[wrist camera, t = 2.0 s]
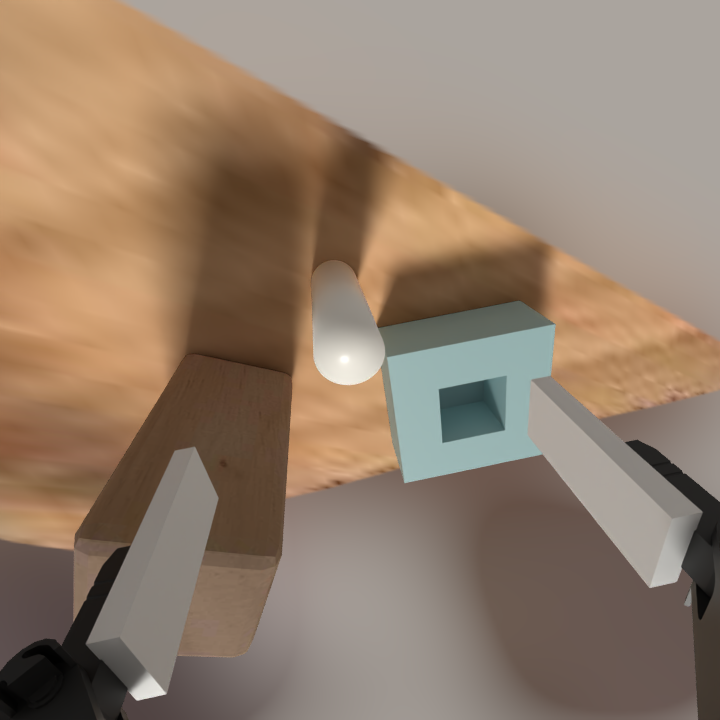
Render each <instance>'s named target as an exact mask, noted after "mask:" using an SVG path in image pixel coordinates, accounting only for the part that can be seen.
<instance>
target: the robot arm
mask: <svg viewBox="0 0 720 720" xmlns="http://www.w3.org/2000/svg"><path fill="white" fill-rule="evenodd" d="M527 435H528V436H529V438H530V439H531V440H532V441H533V443H534V444H535V445H536V446H537V448H538V449H539V450H540V451H541V453H542V454H543V455H544V456H545V457H546V459H547V460H548V461H549V463H550V464H551V465H552V466H553V468H554V469H555V470H556V471H557V473H558V474H559V475H560V476H561V478H562V479H563V480H564V481H565V483H566V484H567V485H568V486H569V488H570V489H571V490H572V491H573V493H574V494H575V495H576V496H577V498H578V499H579V500H580V501H581V502H582V504H583V505H584V506H585V507H586V509H587V510H588V511H589V513H590V514H591V515H592V516H593V518H594V519H595V520H596V521H597V523H598V524H599V525H600V526H601V528H602V529H603V530H604V531H605V533H606V534H607V535H608V536H609V538H610V539H611V540H612V541H613V543H614V544H615V545H616V546H617V548H618V549H619V550H620V551H621V553H622V554H623V555H624V556H625V558H626V559H627V560H628V561H629V563H630V564H631V565H632V566H633V568H634V569H635V570H636V571H637V573H638V574H639V575H640V576H641V578H642V579H643V580H644V581H645V582H646V584H647V585H648V586H649V588H651V587H655V586H660V585H664V584H668V583H674V582H677V579H678V577H679V574H680V571H681V569H682V568H683V569H684V570H685V572H686V573H687V574H688V575H689V576H690V577H691V578H692V579H693V582H692V584H691V587H690V589H689V592H688V594H687V597H686V600H685V603H684V605H686V606H690V604H691V602H692V616H693V634H694V652H695V670H696V689H697V707H698V720H720V502H719V501H718V500H717V499H715V498H714V497H713V496H712V495H710V494H709V493H708V492H707V491H705V489H703V488H702V487H701V486H700V485H699V484H697V483H696V482H695V481H694V480H692V479H691V478H690V477H689V476H688V475H687V474H683V472H682V470H680V469H679V468H678V467H677V466H676V465H674V464H671V462H670V460H668V459H667V458H666V457H665V456H664V455H662V454H661V453H660V452H659V451H658V450H656V449H655V448H653V447H651V446H649V445H646V444H644V443H642V442H640V441H638V440H634V441H629V442H624V441H622V440H621V439H620V438H619V437H618V436H616V434H615V433H613V432H612V431H611V430H610V429H609V428H608V427H607V426H606V425H604V424H603V423H602V422H601V421H600V420H599V419H598V418H597V417H595V416H594V415H593V414H592V413H591V412H590V411H589V410H588V409H586V408H585V407H584V406H583V405H582V404H581V403H580V402H579V401H578V400H576V399H575V398H574V397H573V396H572V395H571V394H570V393H569V392H567V391H566V390H565V389H564V388H563V387H562V386H561V385H560V384H558V383H557V382H556V381H555V380H554V379H553V378H552V377H551V376H546V377H541V378H536V379H531V384H530V401H529V417H528V434H527ZM218 499H219V498H218V496H217V493H216V491H215V489H214V487H213V485H212V483H211V480H210V478H209V476H208V474H207V472H206V470H205V467H204V465H203V463H202V461H201V459H200V457H199V454H198V452H197V450H196V448H195V447H191V448H186V449H181V450H176V451H174V453H173V456H172V458H171V460H170V462H169V464H168V466H167V469H166V471H165V473H164V475H163V477H162V479H161V482H160V484H159V486H158V488H157V490H156V492H155V495H154V497H153V499H152V501H151V503H150V505H149V508H148V510H147V512H146V514H145V516H144V519H143V521H142V523H141V525H140V527H139V529H138V532H137V534H136V536H135V538H134V540H133V542H132V545H131V546H126V547H121V548H117V549H116V550H115V551H114V553H113V554H112V555H111V556H110V557H109V558H108V559H107V561H106V562H105V563H104V564H103V565H102V567H101V569H100V571H99V573H98V575H97V577H96V579H95V581H94V586H92V587H91V589H90V591H89V593H88V595H87V597H86V598H87V599H86V601H84V603H83V605H82V607H81V609H80V611H79V613H78V615H77V616H76V618H75V620H74V622H73V624H72V627H71V628H70V630H69V632H68V634H67V636H66V638H65V640H64V642H63V644H62V646H61V645H60V644H59V643H58V642H57V641H56V640H54V639H43V640H40V641H37V642H34V643H33V644H31V645H29V646H28V647H26V648H24V649H22V650H21V651H20V652H19V653H18V654H16V655H15V656H14V657H13V658H12V659H11V660H10V661H9V662H7V664H6V665H5V666H4V667H3V669H2V670H1V671H0V720H128V717H127V714H126V712H125V711H124V710H123V709H122V708H121V707H122V704H123V702H124V698H125V695H126V692H127V690H128V691H129V692H130V693H131V694H132V696H133V697H134V698H135V699H136V700H141V699H146V698H151V697H155V696H160V695H164V694H167V690H168V687H169V683H170V679H171V675H172V671H173V668H174V664H175V660H176V656H177V653H178V649H179V645H180V641H181V638H182V634H183V630H184V626H185V623H186V619H187V615H188V611H189V608H190V604H191V600H192V596H193V593H194V589H195V585H196V581H197V578H198V574H199V570H200V566H201V562H202V559H203V555H204V551H205V547H206V544H207V540H208V536H209V532H210V529H211V525H212V521H213V517H214V514H215V510H216V506H217V502H218Z"/></svg>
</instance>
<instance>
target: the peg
mask: <svg viewBox="0 0 720 720" xmlns="http://www.w3.org/2000/svg"><path fill="white" fill-rule="evenodd" d="M311 297H312V325H313V353H314V362H315V365H316V367H317V369H318V370H319V372H320V373H321V374H322V375H323V376H324V377H325V378H326V379H328V380H330V381H332V382H334V383H337V384H341V385H354V384H359V383H362V382H364V381H366V380H368V379H370V378H371V377H372V376H373V375H375V374H376V373H377V371H378V370H379V369H380V367H381V365H382V364H383V361H384V357H385V345H384V342H383V339H382V337H381V334H380V332H379V330H378V327H377V325H376V322H375V320H374V318H373V315H372V313H371V311H370V308H369V306H368V303H367V301H366V299H365V296H364V294H363V292H362V289H361V287H360V284H359V282H358V280H357V277H356V275H355V273H354V271H353V269H352V268H351V267H350V266H349V265H348V264H346V263H344V262H342V261H339V260H329V261H326V262H324V263H322V264H320V265H319V266H318V267H317V268H316V269H315V271H314V272H313V275H312V278H311Z"/></svg>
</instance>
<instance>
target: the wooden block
mask: <svg viewBox="0 0 720 720" xmlns="http://www.w3.org/2000/svg"><path fill="white" fill-rule="evenodd" d="M291 399H292V380H291V377H290V376H289V375H287V374H285V373H283V372H278V371H274V370H269V369H264V368H259V367H255V366H250V365H245V364H241V363H236V362H231V361H227V360H222V359H217V358H212V357H208V356H203V355H198V354H189V355H187V356H185V358H184V359H183V360H182V362H181V363H180V365H179V367H178V368H177V370H176V372H175V373H174V375H173V376H172V378H171V380H170V381H169V383H168V385H167V386H166V388H165V389H164V391H163V393H162V394H161V396H160V398H159V399H158V401H157V402H156V404H155V406H154V407H153V409H152V411H151V412H150V414H149V415H148V417H147V419H146V420H145V422H144V424H143V425H142V427H141V428H140V430H139V432H138V433H137V435H136V437H135V438H134V440H133V441H132V443H131V445H130V446H129V448H128V449H127V451H126V453H125V454H124V456H123V458H122V459H121V461H120V462H119V464H118V466H117V467H116V469H115V471H114V472H113V474H112V475H111V477H110V479H109V480H108V482H107V484H106V485H105V487H104V488H103V490H102V492H101V493H100V495H99V497H98V498H97V500H96V501H95V503H94V505H93V506H92V508H91V510H90V511H89V513H88V514H87V516H86V518H85V519H84V521H83V523H82V524H81V526H80V527H79V529H78V531H77V532H76V534H75V542H74V614H73V615H74V616H73V619H74V620H75V618H76V616H77V615H78V613H79V611H80V609H81V607H82V605H83V603H84V601H86V599H87V598H86V597H87V595H88V593H89V591H90V589H91V587H92V586H94V581H95V579H96V577H97V575H98V573H99V571H100V569H101V567H102V565H103V564H104V563H105V562H106V561H107V559H108V558H109V557H110V556H111V555H112V554H113V553H114V551H115V550H116V549H117V548H121V547H126V546H131V545H132V542H133V540H134V538H135V536H136V534H137V532H138V529H139V527H140V525H141V523H142V521H143V519H144V516H145V514H146V512H147V510H148V508H149V505H150V503H151V501H152V499H153V497H154V495H155V492H156V490H157V488H158V486H159V484H160V482H161V479H162V477H163V475H164V473H165V471H166V469H167V466H168V464H169V462H170V460H171V458H172V456H173V453H174V451H176V450H181V449H186V448H191V447H195V448H196V450H197V452H198V454H199V457H200V459H201V461H202V463H203V465H204V467H205V470H206V472H207V474H208V476H209V478H210V480H211V483H212V485H213V487H214V489H215V491H216V493H217V496H218V498H219V499H218V502H217V506H216V510H215V514H214V517H213V521H212V525H211V529H210V532H209V536H208V540H207V544H206V547H205V551H204V555H203V559H202V562H201V566H200V570H199V574H198V578H197V581H196V585H195V589H194V593H193V596H192V600H191V604H190V608H189V611H188V615H187V619H186V623H185V626H184V630H183V634H182V638H181V641H180V645H179V649H178V653H177V656H206V657H236V656H239V655H242V654H244V653H246V652H247V650H248V649H249V647H250V644H251V643H252V640H253V638H254V635H255V632H256V630H257V627H258V624H259V621H260V617H261V615H262V612H263V609H264V606H265V603H266V600H267V597H268V594H269V591H270V588H271V585H272V582H273V579H274V576H275V573H276V570H277V567H278V564H279V561H280V558H281V556H282V542H283V526H284V511H285V495H286V479H287V463H288V447H289V431H290V415H291ZM74 620H73V622H74Z"/></svg>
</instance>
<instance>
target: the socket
mask: <svg viewBox="0 0 720 720" xmlns="http://www.w3.org/2000/svg"><path fill="white" fill-rule="evenodd" d="M378 330H379V332H380V334H381V337H382V339H383V342H384V345H385V357H384V361H383V364H382V365H381V369H382V376H383V383H384V389H385V396H386V403H387V409H388V416H389V423H390V429H391V436H392V443H393V446H394V450H395V453H396V456H397V459H398V463H399V466H400V469H401V472H402V476H403V479H404V483H407V482H412V481H416V480H421V479H426V478H431V477H436V476H441V475H445V474H450V473H455V472H459V471H464V470H469V469H474V468H478V467H483V466H488V465H493V464H498V463H503V462H507V461H512V460H517V459H522V458H526V457H532V456H536V455H541V454H542V453H541V451H540V450H539V449H538V448H537V446H536V445H535V444H534V443H533V441H532V440H531V439H530V438H529V436H528V435H527V434H528V417H529V401H530V384H531V379H536V378H541V377H546V376H551V368H552V357H553V346H554V335H555V324H554V323H553V322H551V321H550V320H548V319H547V318H545V317H544V316H542V315H541V314H539V313H538V312H536V311H535V310H533V309H532V308H530V307H529V306H527V305H526V304H524V303H523V302H521V301H520V300H519V301H514V302H509V303H504V304H499V305H494V306H489V307H483V308H478V309H473V310H468V311H463V312H458V313H452V314H447V315H442V316H437V317H432V318H427V319H422V320H416V321H411V322H406V323H401V324H396V325H391V326H386V327H380V328H378Z"/></svg>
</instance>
